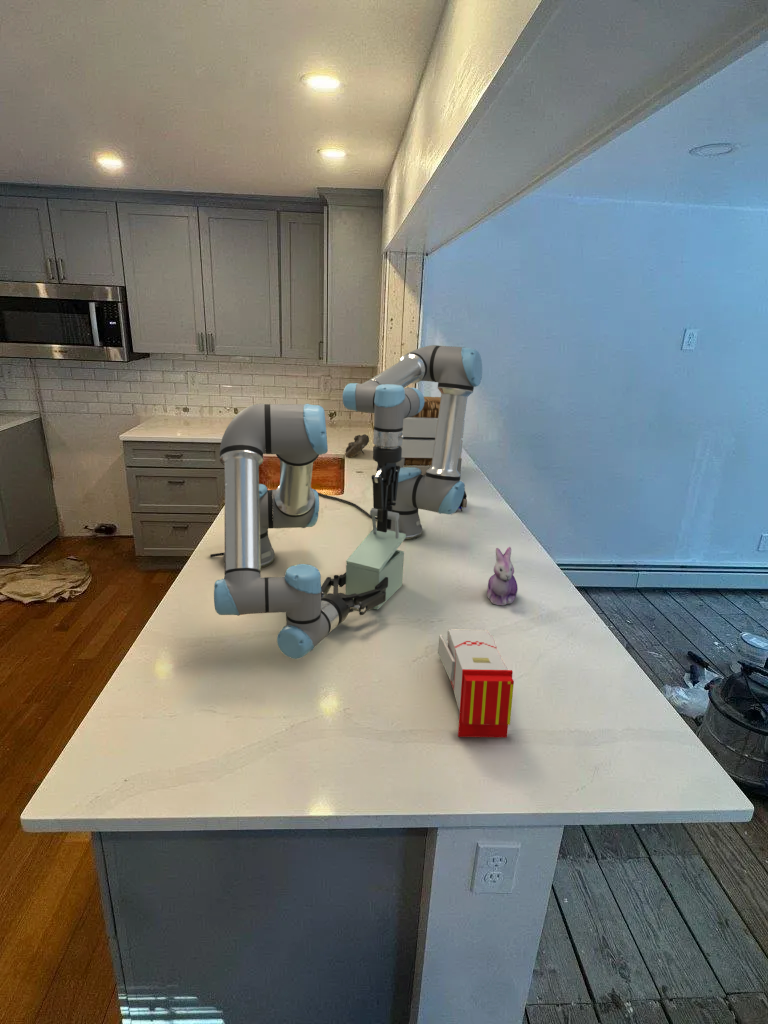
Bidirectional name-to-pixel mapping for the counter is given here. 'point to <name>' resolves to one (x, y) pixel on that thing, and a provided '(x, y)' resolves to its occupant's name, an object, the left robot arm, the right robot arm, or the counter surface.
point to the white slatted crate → (422, 436)
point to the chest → (376, 577)
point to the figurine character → (463, 502)
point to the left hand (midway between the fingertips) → (369, 577)
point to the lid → (377, 546)
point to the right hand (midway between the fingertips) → (383, 529)
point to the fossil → (357, 445)
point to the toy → (478, 682)
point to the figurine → (502, 580)
